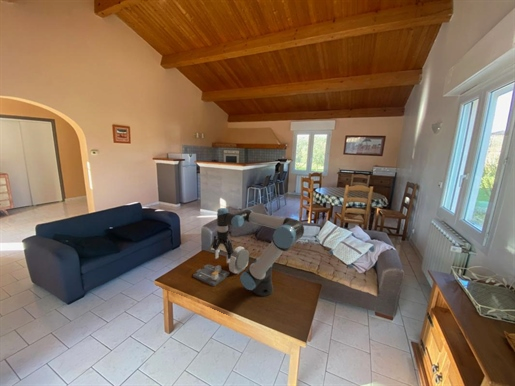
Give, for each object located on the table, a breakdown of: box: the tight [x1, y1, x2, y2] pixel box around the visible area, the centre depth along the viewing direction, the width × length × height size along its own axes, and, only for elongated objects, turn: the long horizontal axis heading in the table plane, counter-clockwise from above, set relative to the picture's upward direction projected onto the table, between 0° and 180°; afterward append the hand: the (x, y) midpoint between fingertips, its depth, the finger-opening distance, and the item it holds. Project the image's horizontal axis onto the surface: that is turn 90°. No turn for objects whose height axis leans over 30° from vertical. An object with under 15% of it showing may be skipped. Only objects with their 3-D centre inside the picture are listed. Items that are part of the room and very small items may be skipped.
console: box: [192, 264, 231, 287], centre depth 169 cm, size 21×18×4 cm
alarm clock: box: [228, 246, 250, 275], centre depth 176 cm, size 18×8×20 cm, turn 144°
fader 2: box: [215, 264, 222, 273], centre depth 170 cm, size 3×4×4 cm
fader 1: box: [212, 271, 218, 280], centre depth 161 cm, size 3×4×4 cm
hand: (222, 260), depth 155 cm, fingers open, 10 cm apart
